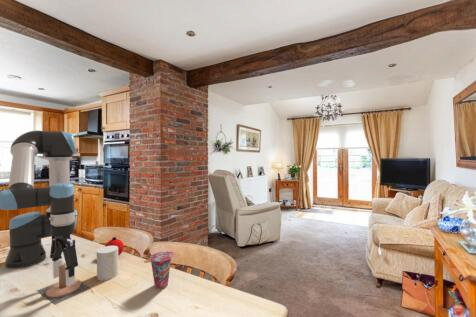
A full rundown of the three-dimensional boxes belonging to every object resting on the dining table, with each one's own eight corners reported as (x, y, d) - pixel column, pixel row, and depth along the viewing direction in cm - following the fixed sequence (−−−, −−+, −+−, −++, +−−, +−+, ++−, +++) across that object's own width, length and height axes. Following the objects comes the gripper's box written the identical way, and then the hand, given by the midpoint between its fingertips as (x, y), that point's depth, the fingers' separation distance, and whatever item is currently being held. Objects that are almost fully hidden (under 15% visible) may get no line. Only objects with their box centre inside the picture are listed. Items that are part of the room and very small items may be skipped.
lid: (40, 292, 91) (40, 268, 91) (72, 279, 100) (72, 257, 100) (53, 301, 85) (52, 276, 85) (86, 286, 95) (86, 263, 94)
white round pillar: (109, 282, 99) (108, 253, 98) (92, 280, 100) (92, 252, 100) (122, 273, 107) (122, 246, 106) (106, 271, 108) (106, 245, 108)
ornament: (123, 258, 121) (123, 239, 121) (103, 261, 118) (103, 241, 117) (124, 251, 129) (124, 233, 129) (105, 254, 126) (105, 235, 126)
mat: (36, 292, 92) (36, 290, 92) (71, 278, 102) (71, 276, 102) (55, 306, 84) (54, 304, 84) (91, 289, 94) (91, 288, 94)
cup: (164, 293, 91) (163, 262, 91) (145, 289, 94) (145, 258, 94) (177, 280, 100) (177, 252, 100) (160, 277, 103) (160, 249, 103)
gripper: (38, 221, 95) (39, 276, 96) (65, 231, 83) (66, 294, 84) (60, 217, 101) (61, 269, 102) (88, 225, 89) (89, 284, 90)
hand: (63, 280), depth 93 cm, fingers open, 10 cm apart
